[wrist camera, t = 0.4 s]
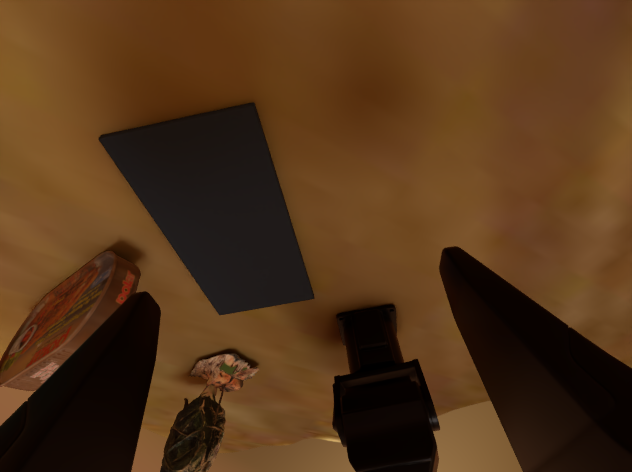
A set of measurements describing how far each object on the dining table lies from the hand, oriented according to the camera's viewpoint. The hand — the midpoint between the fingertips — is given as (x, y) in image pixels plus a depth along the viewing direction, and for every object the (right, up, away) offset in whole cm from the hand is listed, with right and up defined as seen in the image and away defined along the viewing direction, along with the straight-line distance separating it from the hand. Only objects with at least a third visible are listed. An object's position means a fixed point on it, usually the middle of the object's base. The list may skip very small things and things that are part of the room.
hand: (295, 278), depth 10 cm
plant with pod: (-12, -16, +33) cm, 39 cm away
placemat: (-6, +1, +17) cm, 18 cm away
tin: (-20, -3, +20) cm, 28 cm away
